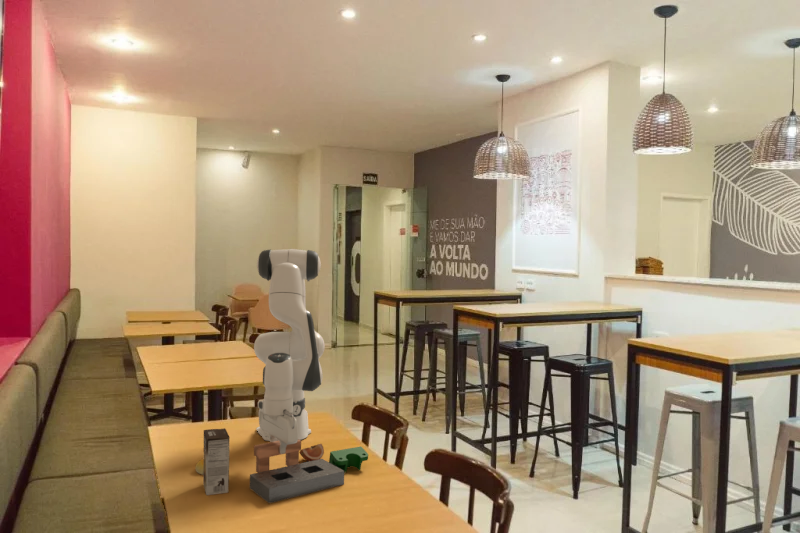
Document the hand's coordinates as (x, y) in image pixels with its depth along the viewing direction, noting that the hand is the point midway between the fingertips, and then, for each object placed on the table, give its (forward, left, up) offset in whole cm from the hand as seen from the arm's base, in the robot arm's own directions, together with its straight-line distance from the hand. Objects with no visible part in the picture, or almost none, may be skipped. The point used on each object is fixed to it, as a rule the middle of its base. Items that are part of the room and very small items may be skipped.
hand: (277, 450), depth 187 cm
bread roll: (-13, -16, -7) cm, 22 cm away
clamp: (+10, +20, -7) cm, 23 cm away
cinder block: (+13, 0, -7) cm, 15 cm away
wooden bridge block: (0, 0, -6) cm, 6 cm away
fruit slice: (-4, +14, -7) cm, 16 cm away
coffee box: (+1, -20, -7) cm, 21 cm away
